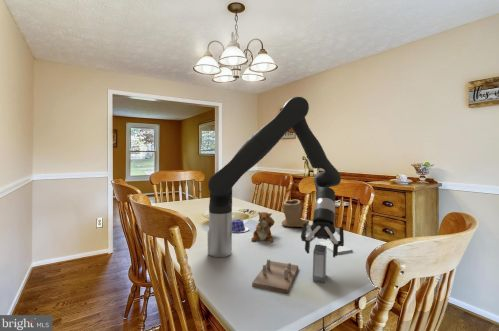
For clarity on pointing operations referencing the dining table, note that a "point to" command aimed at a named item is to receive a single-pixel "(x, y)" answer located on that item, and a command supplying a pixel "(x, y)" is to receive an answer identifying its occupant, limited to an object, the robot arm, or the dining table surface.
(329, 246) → the external hard drive
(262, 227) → the stuffed squirrel
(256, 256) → the dining table surface
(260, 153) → the robot arm
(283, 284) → the wooden peg stand
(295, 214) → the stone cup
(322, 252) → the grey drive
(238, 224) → the pudding
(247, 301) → the dining table surface
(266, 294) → the dining table surface
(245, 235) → the dining table surface
